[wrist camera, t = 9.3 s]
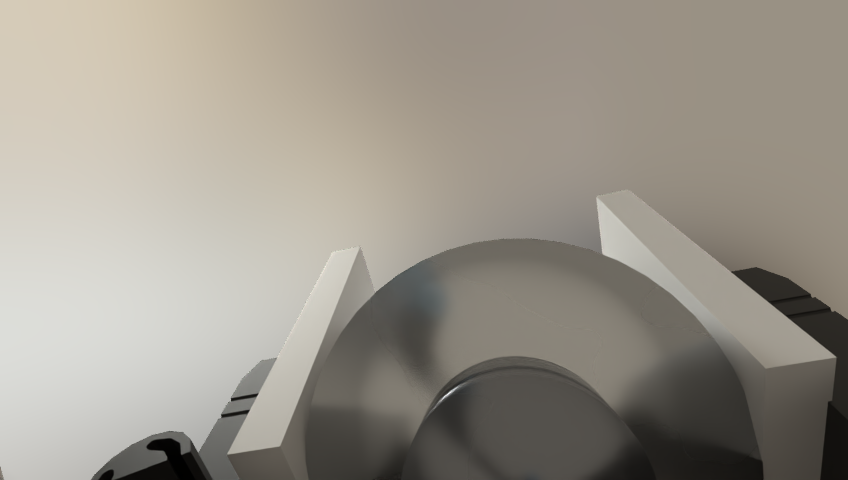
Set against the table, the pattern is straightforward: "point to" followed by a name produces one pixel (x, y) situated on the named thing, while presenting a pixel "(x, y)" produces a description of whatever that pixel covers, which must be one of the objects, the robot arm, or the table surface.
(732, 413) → the grey round-headed handle
